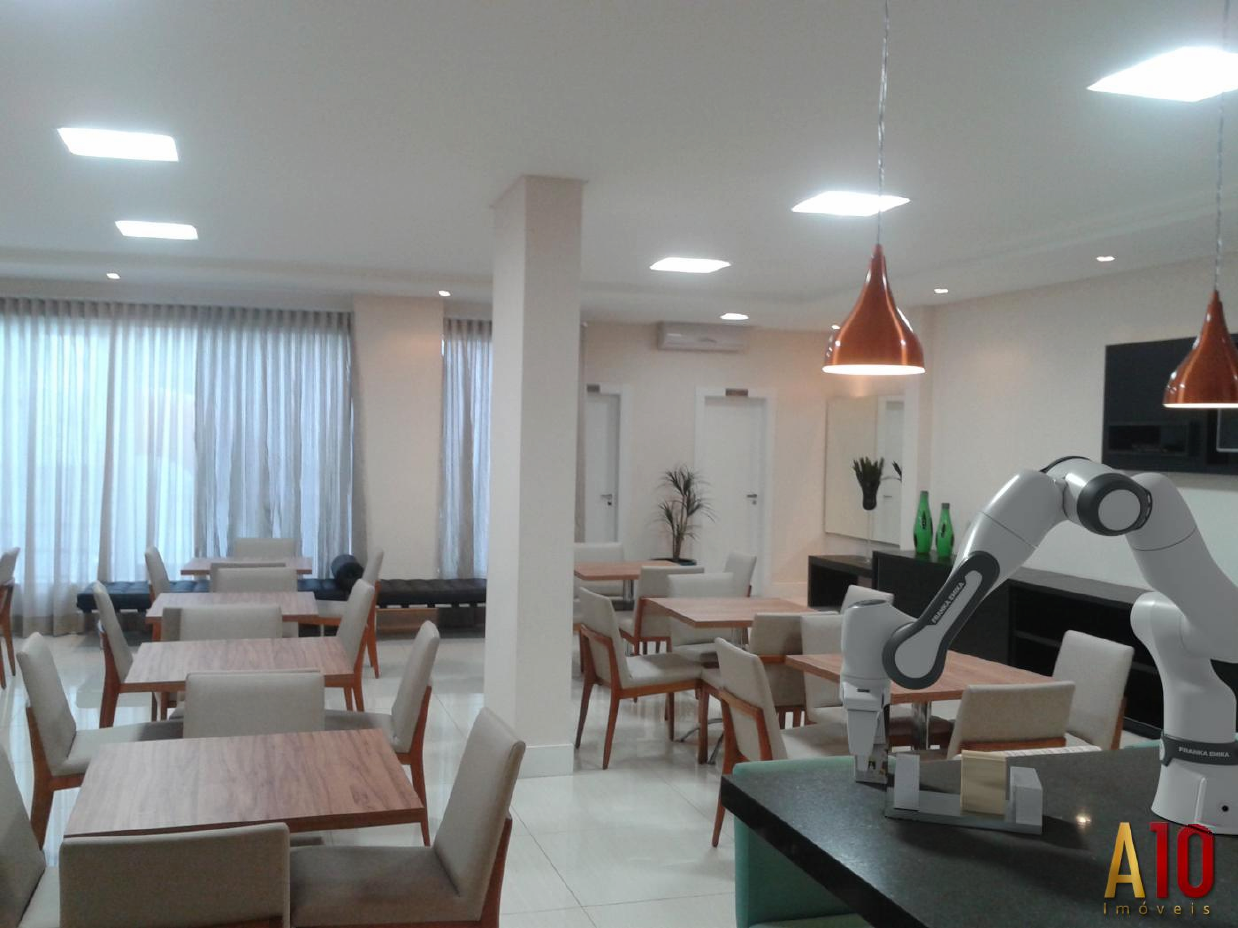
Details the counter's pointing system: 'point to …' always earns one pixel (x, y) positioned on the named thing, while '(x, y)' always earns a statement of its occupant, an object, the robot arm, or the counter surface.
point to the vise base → (946, 809)
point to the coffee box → (877, 752)
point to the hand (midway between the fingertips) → (862, 768)
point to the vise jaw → (906, 781)
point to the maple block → (983, 782)
